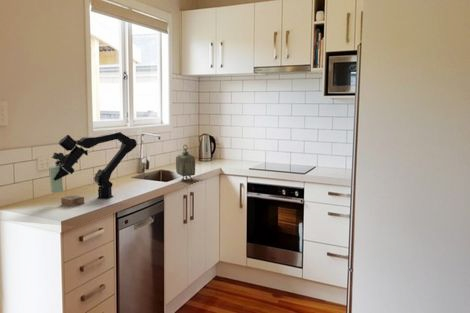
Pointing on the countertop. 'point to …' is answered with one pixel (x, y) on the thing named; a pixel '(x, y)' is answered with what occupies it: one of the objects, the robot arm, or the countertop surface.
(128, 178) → the countertop surface
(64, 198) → the walnut block
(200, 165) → the countertop surface
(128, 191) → the countertop surface
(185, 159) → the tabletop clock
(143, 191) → the countertop surface
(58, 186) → the sage green block
